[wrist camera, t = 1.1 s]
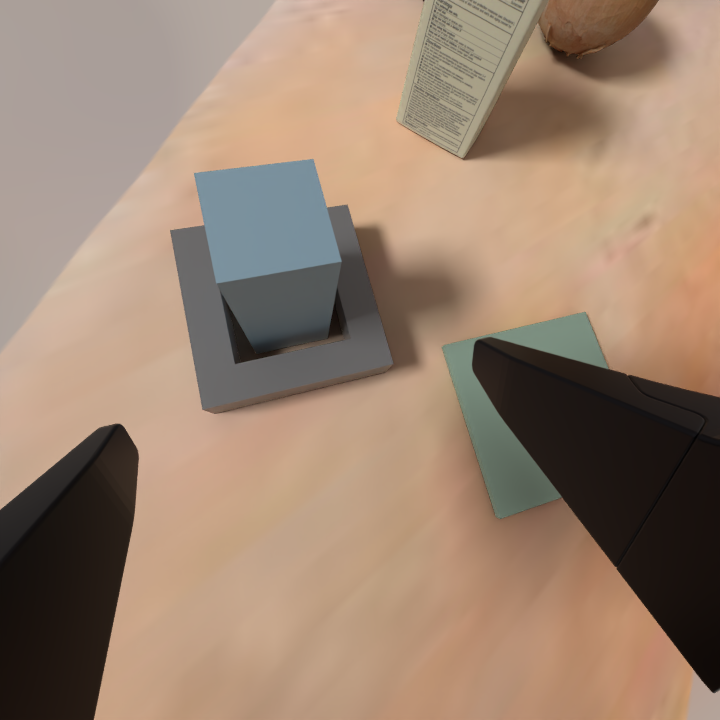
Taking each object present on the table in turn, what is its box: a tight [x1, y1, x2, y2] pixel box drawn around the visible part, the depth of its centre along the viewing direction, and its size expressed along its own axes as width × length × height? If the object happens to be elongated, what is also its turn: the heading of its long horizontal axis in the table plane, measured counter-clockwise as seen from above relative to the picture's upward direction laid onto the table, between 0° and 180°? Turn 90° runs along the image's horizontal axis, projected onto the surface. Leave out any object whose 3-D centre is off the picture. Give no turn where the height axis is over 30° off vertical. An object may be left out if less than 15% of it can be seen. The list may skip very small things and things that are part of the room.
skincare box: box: [396, 0, 549, 158], centre depth 22 cm, size 6×4×12 cm
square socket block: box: [170, 205, 393, 414], centre depth 22 cm, size 10×10×2 cm
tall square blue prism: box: [194, 159, 342, 354], centre depth 18 cm, size 4×4×10 cm
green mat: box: [442, 312, 608, 519], centre depth 24 cm, size 11×11×1 cm
